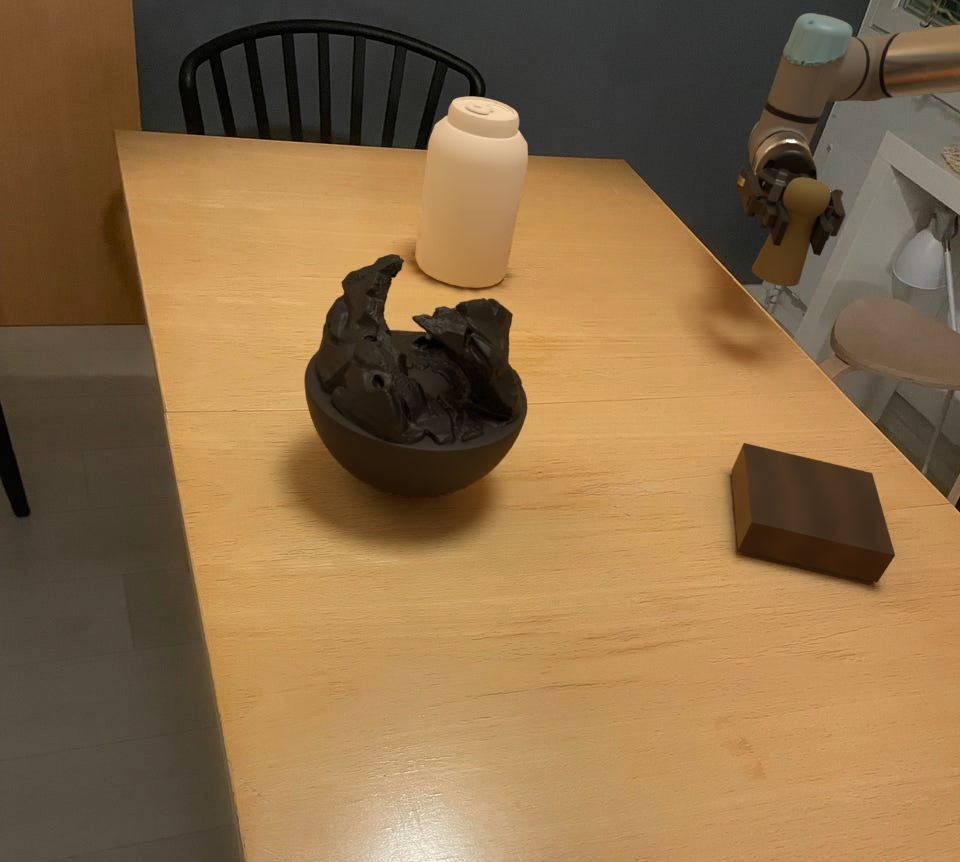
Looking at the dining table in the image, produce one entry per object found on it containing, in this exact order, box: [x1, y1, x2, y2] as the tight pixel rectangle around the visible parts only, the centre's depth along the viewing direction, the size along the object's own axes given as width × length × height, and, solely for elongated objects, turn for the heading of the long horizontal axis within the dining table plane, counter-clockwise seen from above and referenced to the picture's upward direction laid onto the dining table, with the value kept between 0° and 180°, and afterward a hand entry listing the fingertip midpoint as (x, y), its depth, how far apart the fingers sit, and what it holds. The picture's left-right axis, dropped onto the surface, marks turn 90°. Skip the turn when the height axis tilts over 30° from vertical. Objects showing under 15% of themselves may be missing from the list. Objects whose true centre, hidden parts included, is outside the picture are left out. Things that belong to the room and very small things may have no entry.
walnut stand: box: [731, 442, 896, 586], centre depth 92 cm, size 14×14×4 cm
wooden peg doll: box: [751, 177, 831, 288], centre depth 107 cm, size 6×6×11 cm
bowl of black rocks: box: [303, 253, 528, 499], centre depth 81 cm, size 20×20×19 cm
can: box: [414, 95, 529, 289], centre depth 116 cm, size 12×12×20 cm
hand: (801, 238), depth 103 cm, fingers closed on wooden peg doll, 4 cm apart
